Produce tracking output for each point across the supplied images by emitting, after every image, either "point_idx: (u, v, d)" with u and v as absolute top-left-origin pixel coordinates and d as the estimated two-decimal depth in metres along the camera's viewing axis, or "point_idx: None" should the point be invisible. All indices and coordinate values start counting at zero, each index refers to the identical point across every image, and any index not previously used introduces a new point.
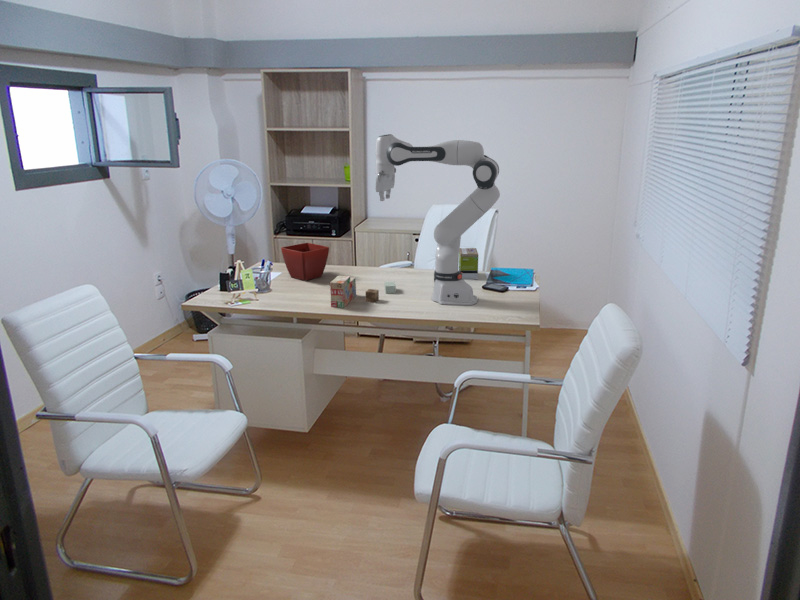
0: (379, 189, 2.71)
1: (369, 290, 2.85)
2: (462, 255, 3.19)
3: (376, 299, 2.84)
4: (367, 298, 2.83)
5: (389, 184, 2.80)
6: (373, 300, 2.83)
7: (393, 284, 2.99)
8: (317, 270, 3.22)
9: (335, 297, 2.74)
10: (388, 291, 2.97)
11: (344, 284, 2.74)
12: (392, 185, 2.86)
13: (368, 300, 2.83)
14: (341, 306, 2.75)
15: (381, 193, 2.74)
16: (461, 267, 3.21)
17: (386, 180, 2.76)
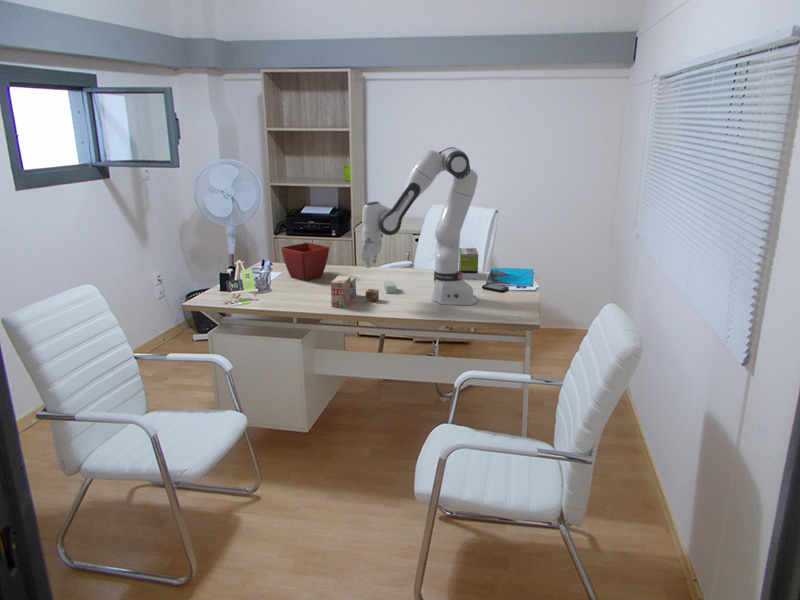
0: (365, 257, 2.69)
1: (369, 290, 2.85)
2: (462, 255, 3.19)
3: (376, 299, 2.84)
4: (367, 298, 2.83)
5: (375, 250, 2.79)
6: (373, 300, 2.83)
7: (393, 284, 2.99)
8: (317, 270, 3.22)
9: (335, 297, 2.74)
10: (389, 291, 2.97)
11: (345, 284, 2.74)
12: (379, 250, 2.84)
13: (368, 300, 2.83)
14: (342, 306, 2.75)
15: (367, 260, 2.73)
16: (461, 267, 3.21)
17: (372, 247, 2.75)
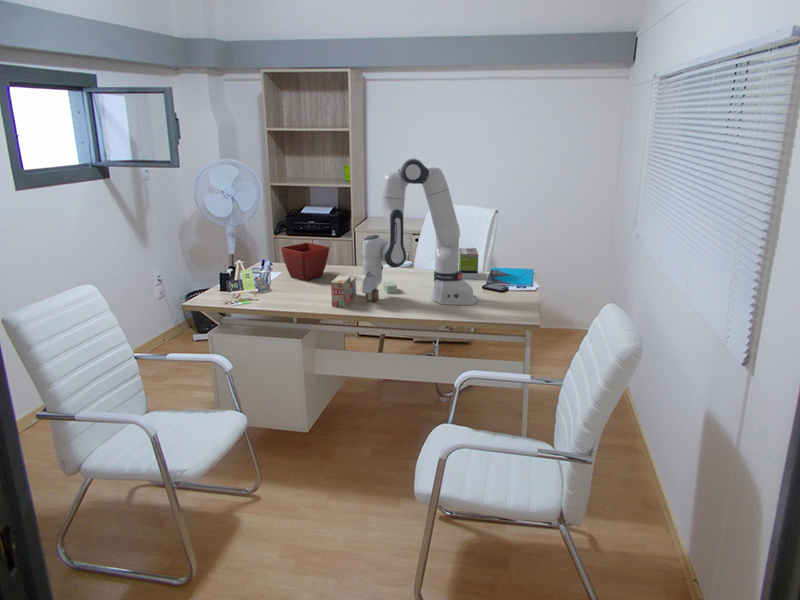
0: (366, 291, 2.74)
1: None
2: (462, 255, 3.19)
3: (376, 299, 2.84)
4: (367, 298, 2.83)
5: (376, 283, 2.84)
6: (373, 300, 2.83)
7: (393, 284, 3.00)
8: (317, 270, 3.22)
9: (336, 297, 2.75)
10: (389, 291, 2.97)
11: (345, 284, 2.74)
12: (379, 281, 2.89)
13: (368, 300, 2.83)
14: (342, 306, 2.75)
15: (369, 292, 2.79)
16: (461, 267, 3.21)
17: (373, 280, 2.79)
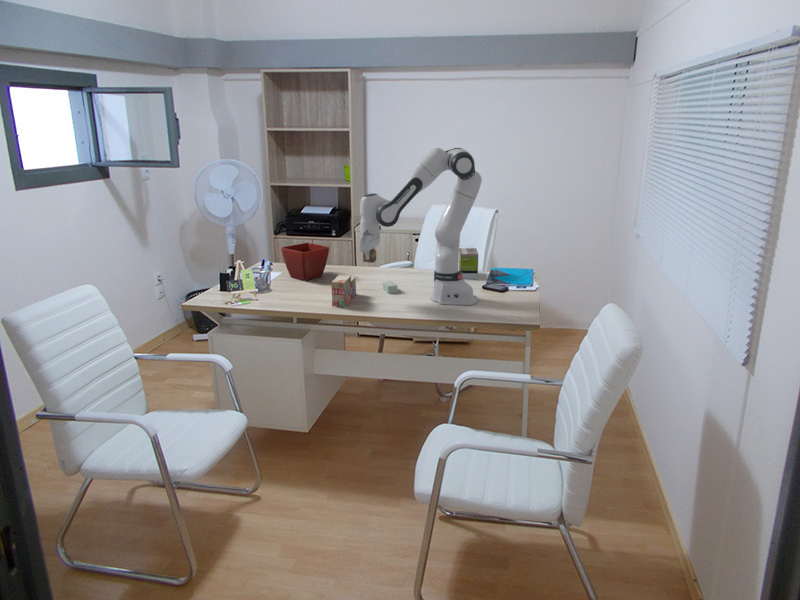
0: (363, 249, 2.68)
1: None
2: (462, 255, 3.19)
3: (374, 259, 2.78)
4: (365, 258, 2.77)
5: (374, 243, 2.78)
6: (370, 260, 2.77)
7: (393, 284, 3.00)
8: (317, 270, 3.22)
9: (336, 297, 2.75)
10: (390, 291, 2.97)
11: (345, 284, 2.74)
12: (377, 242, 2.83)
13: (366, 260, 2.77)
14: (342, 305, 2.76)
15: (367, 252, 2.73)
16: (461, 267, 3.21)
17: (371, 239, 2.73)
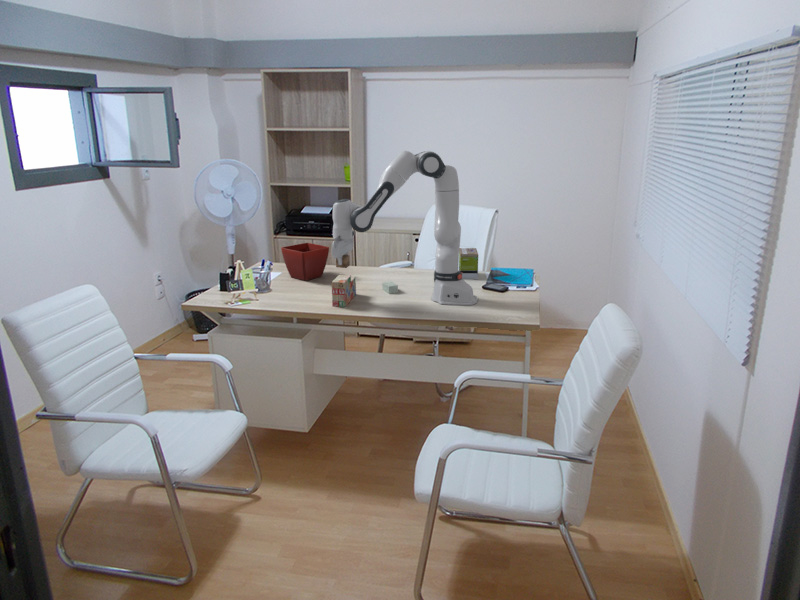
0: (335, 255, 2.68)
1: None
2: (462, 255, 3.19)
3: (347, 264, 2.78)
4: (337, 263, 2.78)
5: (347, 248, 2.78)
6: (343, 266, 2.77)
7: (393, 284, 3.00)
8: (317, 270, 3.22)
9: (336, 297, 2.75)
10: (391, 291, 2.97)
11: (345, 283, 2.75)
12: (351, 247, 2.83)
13: (338, 265, 2.78)
14: (343, 305, 2.76)
15: (339, 257, 2.74)
16: (461, 267, 3.21)
17: (343, 245, 2.74)
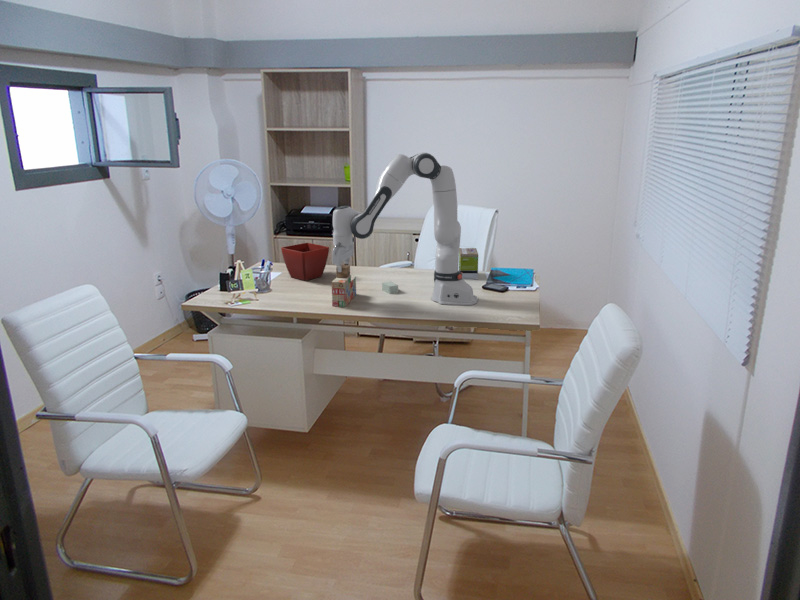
0: (336, 262, 2.69)
1: None
2: (462, 255, 3.19)
3: (347, 275, 2.80)
4: (338, 274, 2.79)
5: (347, 254, 2.79)
6: (343, 276, 2.79)
7: (393, 284, 3.00)
8: (317, 270, 3.22)
9: (336, 297, 2.75)
10: (391, 291, 2.97)
11: (345, 283, 2.75)
12: (351, 254, 2.84)
13: (339, 276, 2.79)
14: (342, 305, 2.76)
15: (338, 264, 2.73)
16: (461, 267, 3.21)
17: (343, 251, 2.75)
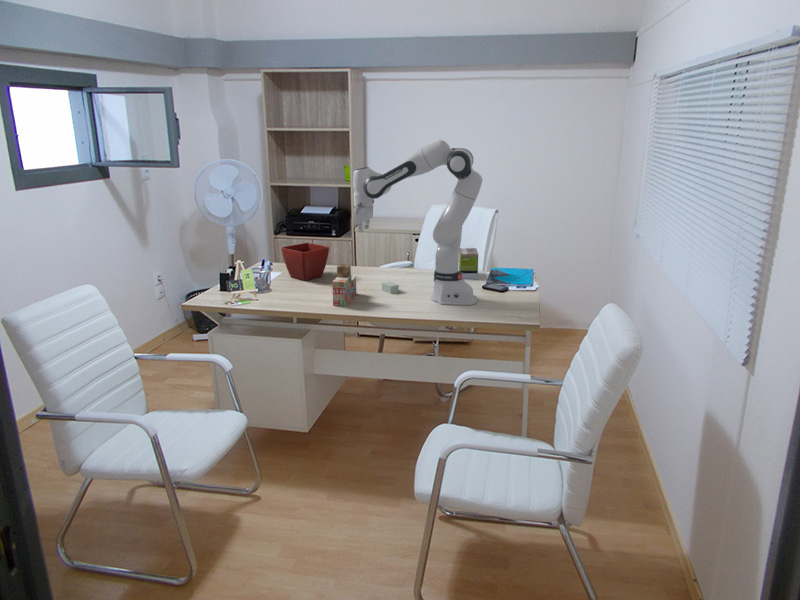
0: (357, 221, 2.76)
1: (341, 265, 2.82)
2: (462, 255, 3.19)
3: (348, 274, 2.81)
4: (338, 273, 2.80)
5: (367, 215, 2.86)
6: (344, 275, 2.80)
7: (394, 283, 3.00)
8: (317, 270, 3.22)
9: (337, 296, 2.76)
10: (392, 291, 2.97)
11: (346, 283, 2.75)
12: (371, 215, 2.91)
13: (339, 275, 2.80)
14: (343, 305, 2.77)
15: (360, 224, 2.80)
16: (461, 267, 3.21)
17: (364, 212, 2.81)
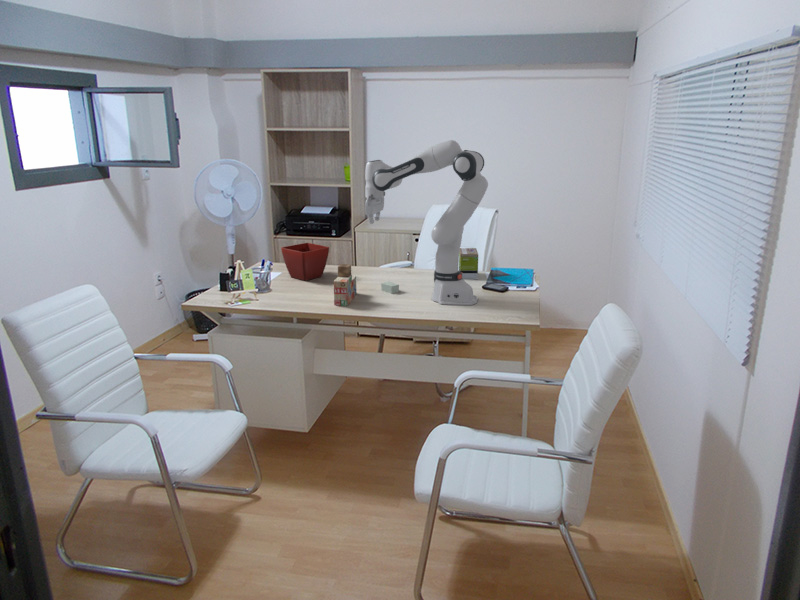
0: (368, 213, 2.82)
1: (341, 265, 2.82)
2: (462, 255, 3.19)
3: (349, 274, 2.81)
4: (339, 273, 2.80)
5: (378, 207, 2.91)
6: (345, 275, 2.80)
7: (393, 283, 3.00)
8: (317, 270, 3.22)
9: (338, 296, 2.76)
10: (393, 291, 2.97)
11: (347, 283, 2.76)
12: (381, 208, 2.97)
13: (340, 275, 2.81)
14: (344, 304, 2.77)
15: (371, 216, 2.85)
16: (461, 267, 3.21)
17: (375, 203, 2.87)
